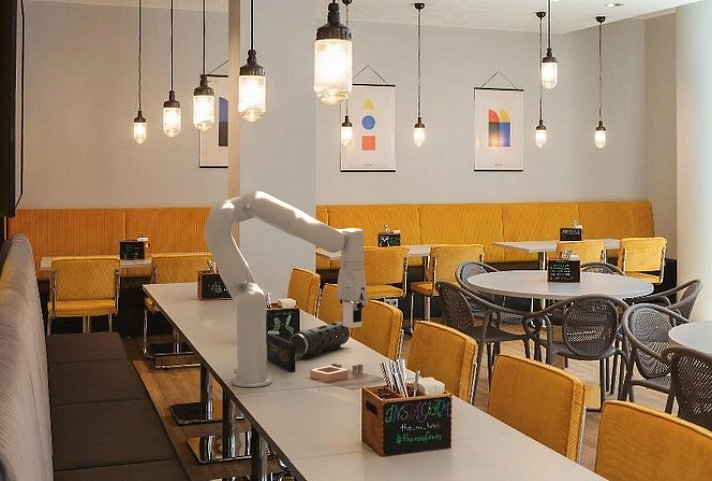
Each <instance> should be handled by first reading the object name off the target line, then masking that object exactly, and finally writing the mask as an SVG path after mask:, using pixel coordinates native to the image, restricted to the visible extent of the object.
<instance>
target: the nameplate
mask: <svg viewBox="0 0 712 481" xmlns="http://www.w3.org/2000/svg"><path fill="white" fill-rule="evenodd" d="M266 345H267V363H270V364H272V365H275V366H276V367H278V368H280V369H282V370H285V371H286V372H289V373H291V372H292V373H293V372H296V356H295V344H294V343H293V342H291V341H289V340H288V339H286V338H283V337H280V336H279V335H276V334H274V333H269V334H266Z"/></svg>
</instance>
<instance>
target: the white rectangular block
mask: <svg viewBox="0 0 712 481" xmlns="http://www.w3.org/2000/svg"><path fill="white" fill-rule="evenodd" d="M357 304H359V302H357ZM353 310H355V308H354V301H348V302H347V301H346V302H343V308H342V323H343V326H345V327H348V328H350V329H351V328H359V327H363V324H362V323H363V320H362V321H361V322H353Z"/></svg>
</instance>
